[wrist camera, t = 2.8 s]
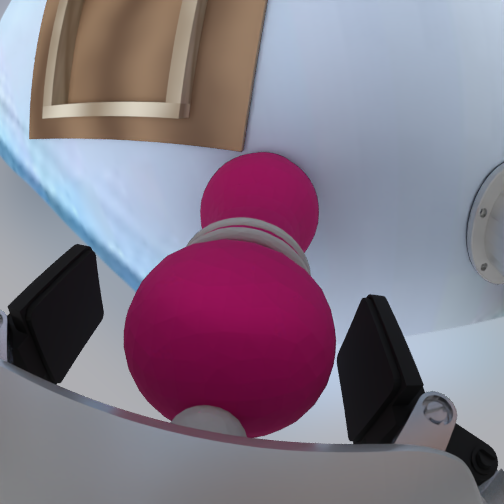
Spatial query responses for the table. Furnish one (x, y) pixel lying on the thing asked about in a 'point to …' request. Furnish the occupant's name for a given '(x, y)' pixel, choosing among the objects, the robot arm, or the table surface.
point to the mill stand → (147, 70)
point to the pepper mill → (237, 308)
